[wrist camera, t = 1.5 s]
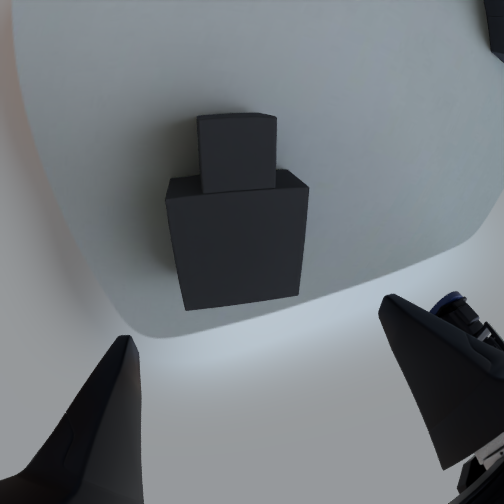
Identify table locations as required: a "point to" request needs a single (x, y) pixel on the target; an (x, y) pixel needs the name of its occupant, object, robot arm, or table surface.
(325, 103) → the table surface
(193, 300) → the black tabbed block
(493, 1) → the dark grey block
